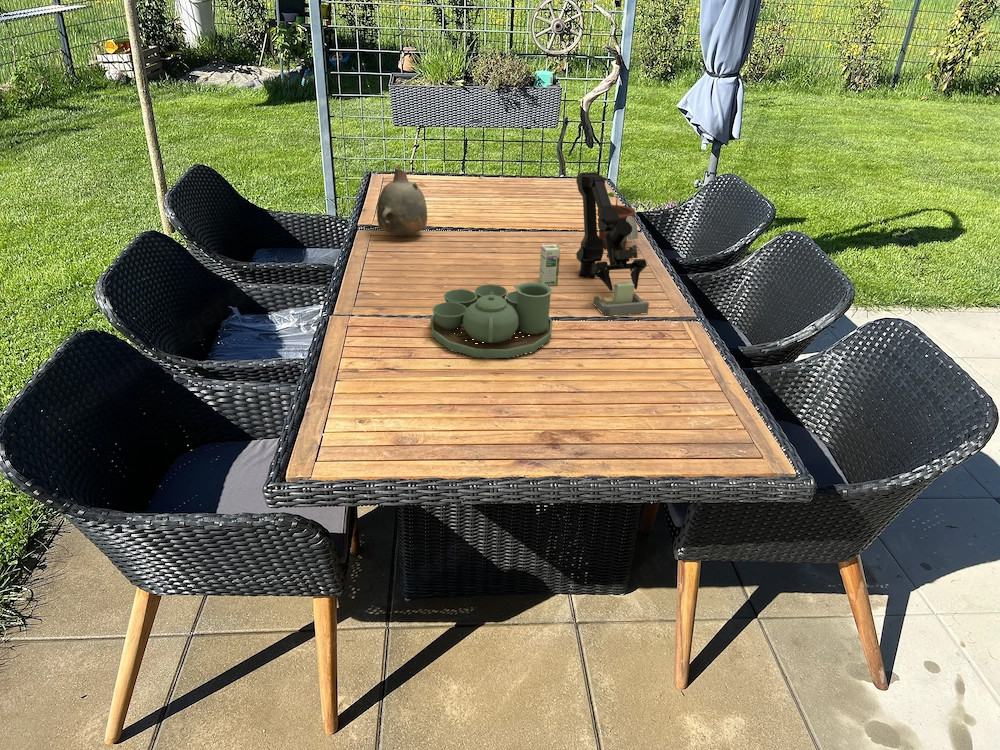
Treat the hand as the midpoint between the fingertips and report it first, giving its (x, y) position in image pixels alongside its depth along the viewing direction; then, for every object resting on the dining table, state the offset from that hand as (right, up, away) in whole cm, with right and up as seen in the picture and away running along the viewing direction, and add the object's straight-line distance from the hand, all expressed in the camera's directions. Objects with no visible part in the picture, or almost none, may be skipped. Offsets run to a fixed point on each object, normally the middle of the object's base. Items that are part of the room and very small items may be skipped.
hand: (623, 289), depth 241 cm
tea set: (-46, -16, -13) cm, 50 cm away
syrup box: (-25, +5, +23) cm, 34 cm away
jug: (-85, +31, +63) cm, 111 cm away
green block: (0, -7, +4) cm, 8 cm away
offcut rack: (-1, -6, +5) cm, 8 cm away
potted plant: (+6, +25, +59) cm, 65 cm away
